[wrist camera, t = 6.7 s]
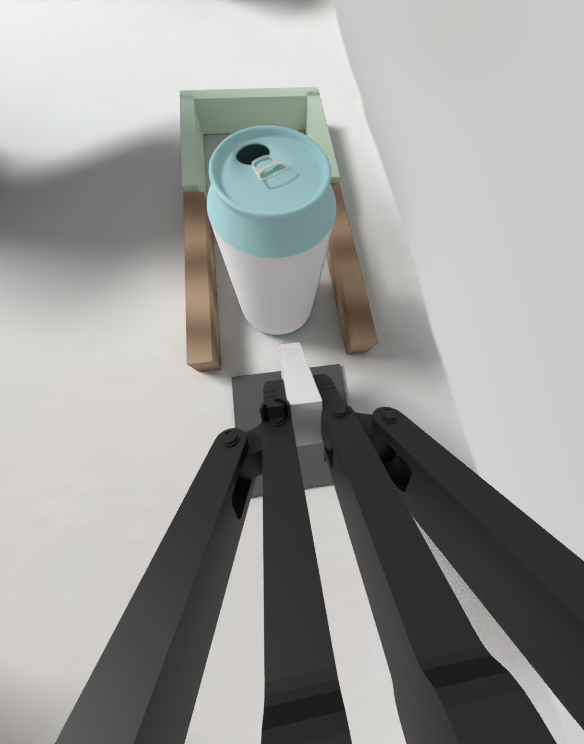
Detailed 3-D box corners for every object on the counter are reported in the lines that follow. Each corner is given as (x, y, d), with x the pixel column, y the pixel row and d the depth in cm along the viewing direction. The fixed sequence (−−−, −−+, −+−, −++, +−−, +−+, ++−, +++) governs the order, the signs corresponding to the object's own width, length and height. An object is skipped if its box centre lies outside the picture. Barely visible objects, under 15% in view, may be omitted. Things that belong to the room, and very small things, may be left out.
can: (231, 325, 21) (167, 200, 9) (255, 267, 23) (226, 99, 11) (300, 346, 21) (323, 244, 9) (319, 286, 22) (359, 135, 11)
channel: (366, 351, 21) (378, 342, 18) (198, 371, 20) (187, 364, 17) (333, 207, 25) (339, 183, 22) (193, 216, 24) (183, 192, 21)
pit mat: (360, 478, 18) (361, 479, 18) (241, 497, 17) (240, 498, 17) (338, 365, 20) (339, 364, 20) (232, 377, 20) (231, 377, 19)
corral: (333, 205, 25) (340, 176, 22) (193, 214, 24) (181, 185, 21) (314, 121, 28) (317, 87, 25) (190, 126, 27) (179, 90, 24)
